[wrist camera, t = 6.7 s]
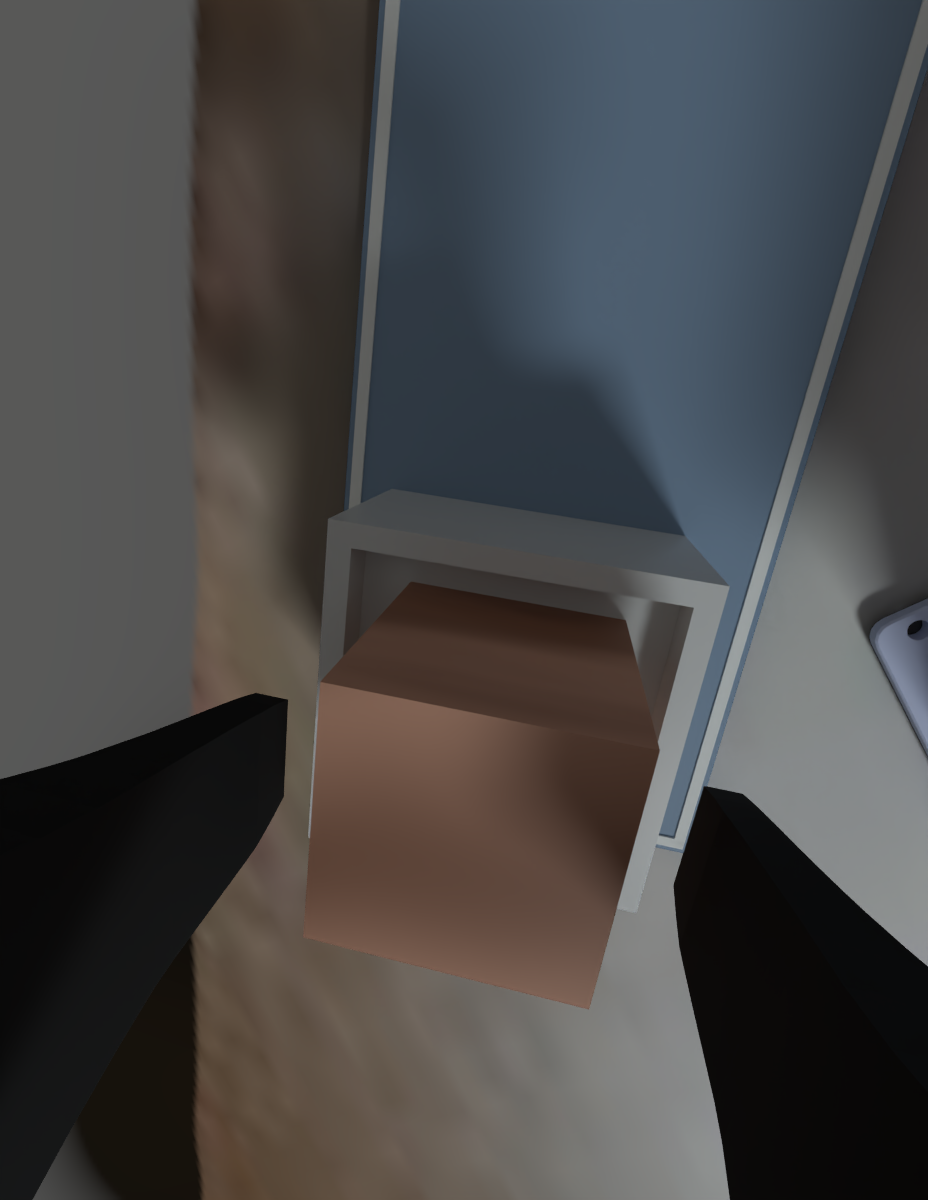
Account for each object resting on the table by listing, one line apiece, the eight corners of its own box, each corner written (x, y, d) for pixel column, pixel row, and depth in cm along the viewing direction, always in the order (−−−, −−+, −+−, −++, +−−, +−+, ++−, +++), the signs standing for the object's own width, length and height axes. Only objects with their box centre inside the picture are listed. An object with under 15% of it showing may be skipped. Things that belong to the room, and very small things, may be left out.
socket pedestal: (391, 488, 16) (328, 518, 12) (685, 535, 15) (729, 586, 11) (368, 738, 18) (308, 837, 14) (620, 790, 18) (636, 912, 13)
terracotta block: (410, 581, 13) (320, 682, 8) (625, 619, 12) (660, 750, 8) (390, 763, 14) (303, 937, 10) (582, 804, 14) (588, 1008, 9)
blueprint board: (402, -143, 13) (391, -180, 12) (968, -120, 12) (998, -160, 11) (334, 760, 20) (324, 776, 19) (681, 835, 19) (686, 855, 18)
